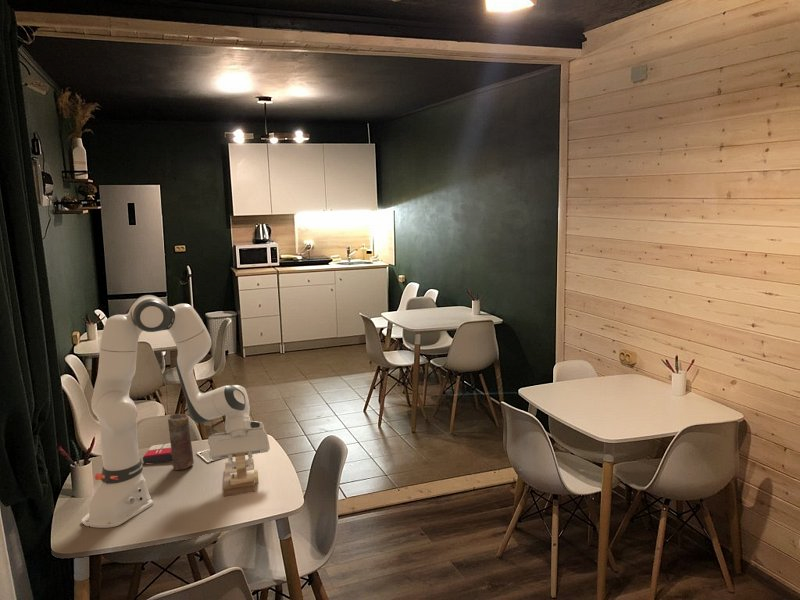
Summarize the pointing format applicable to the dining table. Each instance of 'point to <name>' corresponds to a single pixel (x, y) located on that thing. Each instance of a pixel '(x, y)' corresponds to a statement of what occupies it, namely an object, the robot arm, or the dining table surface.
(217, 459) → the dessert
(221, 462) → the dining table surface
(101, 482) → the robot arm
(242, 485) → the board
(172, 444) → the candle
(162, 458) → the red and white box
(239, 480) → the stacked wooden blocks
